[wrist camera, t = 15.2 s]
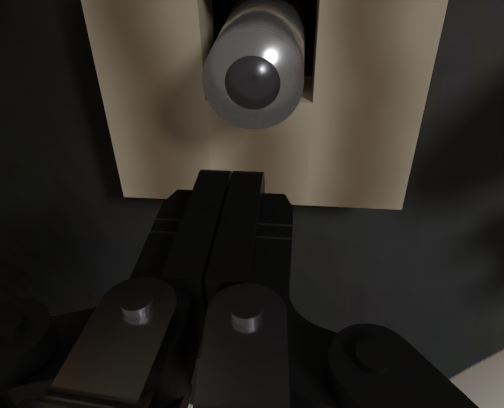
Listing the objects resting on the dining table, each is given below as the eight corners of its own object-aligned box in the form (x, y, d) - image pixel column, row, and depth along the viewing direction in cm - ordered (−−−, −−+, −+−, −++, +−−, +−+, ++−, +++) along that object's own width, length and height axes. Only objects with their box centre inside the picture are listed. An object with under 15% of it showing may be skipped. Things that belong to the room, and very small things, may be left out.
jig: (437, -53, 24) (457, -40, 21) (392, 175, 32) (401, 209, 29) (101, -52, 25) (71, -40, 22) (141, 165, 34) (123, 197, 31)
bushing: (306, -16, 26) (306, 31, 18) (303, 62, 28) (301, 131, 21) (228, -16, 26) (197, 30, 19) (231, 61, 29) (205, 128, 21)
